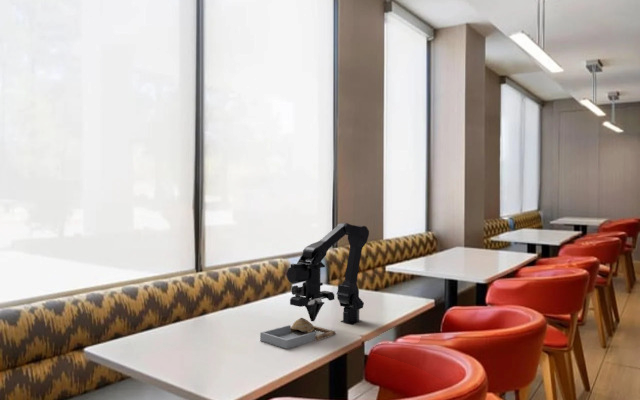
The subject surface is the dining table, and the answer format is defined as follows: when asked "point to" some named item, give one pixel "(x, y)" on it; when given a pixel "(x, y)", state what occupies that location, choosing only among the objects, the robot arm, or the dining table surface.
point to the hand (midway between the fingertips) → (312, 321)
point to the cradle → (326, 331)
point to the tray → (285, 337)
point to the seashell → (303, 325)
